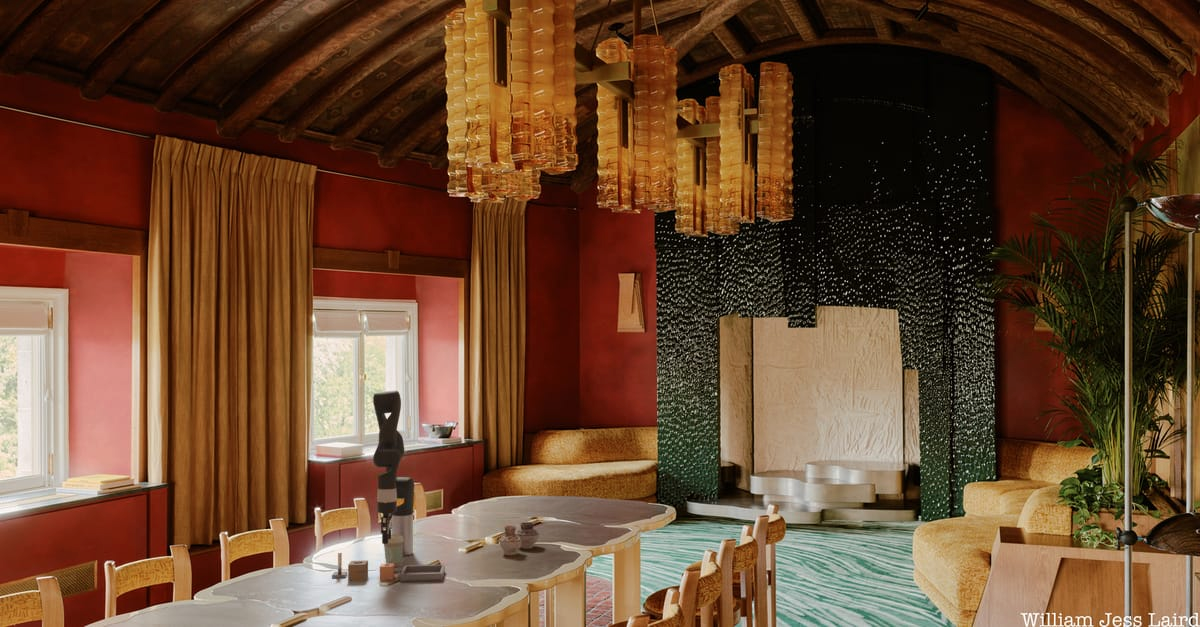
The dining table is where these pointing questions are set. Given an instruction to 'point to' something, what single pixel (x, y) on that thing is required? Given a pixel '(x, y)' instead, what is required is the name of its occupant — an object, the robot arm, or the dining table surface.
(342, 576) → the pin gauge stand
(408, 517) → the robot arm
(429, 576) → the tray
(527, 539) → the pottery
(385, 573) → the block
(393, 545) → the coffee cup
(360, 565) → the block
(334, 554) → the dining table surface
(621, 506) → the dining table surface
